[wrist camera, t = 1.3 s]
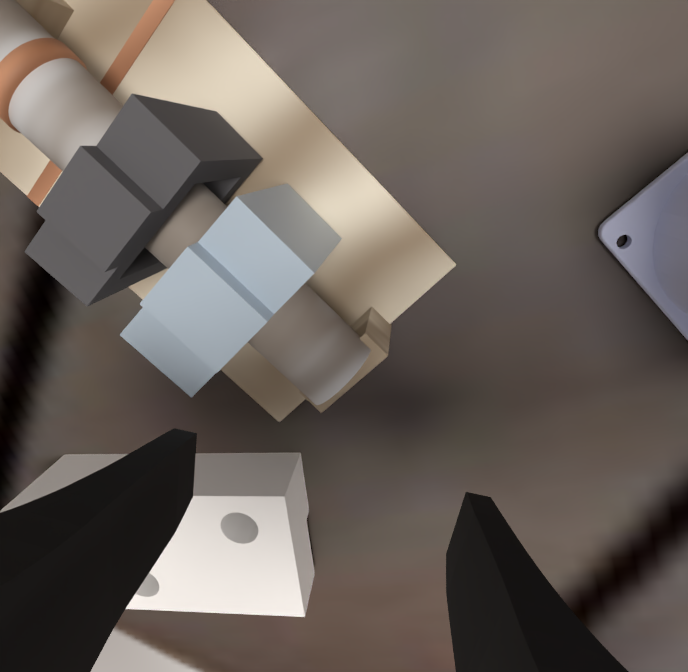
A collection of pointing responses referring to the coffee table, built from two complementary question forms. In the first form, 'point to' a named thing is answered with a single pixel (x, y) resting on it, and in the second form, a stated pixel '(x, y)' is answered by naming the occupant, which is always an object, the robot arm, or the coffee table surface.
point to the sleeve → (229, 284)
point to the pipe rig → (200, 203)
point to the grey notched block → (133, 193)
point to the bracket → (221, 535)
